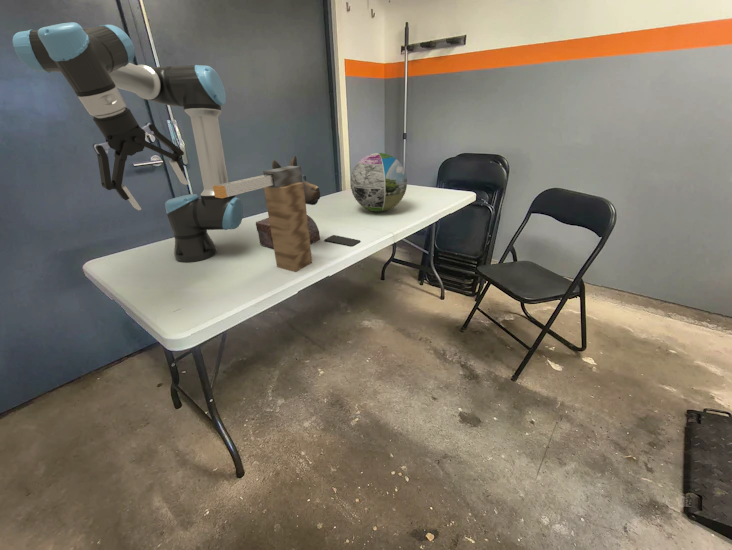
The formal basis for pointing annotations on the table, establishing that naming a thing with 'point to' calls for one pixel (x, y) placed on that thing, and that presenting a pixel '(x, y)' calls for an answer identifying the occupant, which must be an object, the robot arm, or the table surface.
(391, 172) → the photo panel ball
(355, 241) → the smartphone
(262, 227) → the dog bust
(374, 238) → the table surface
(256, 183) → the orange-tipped white stick
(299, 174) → the pedestal
